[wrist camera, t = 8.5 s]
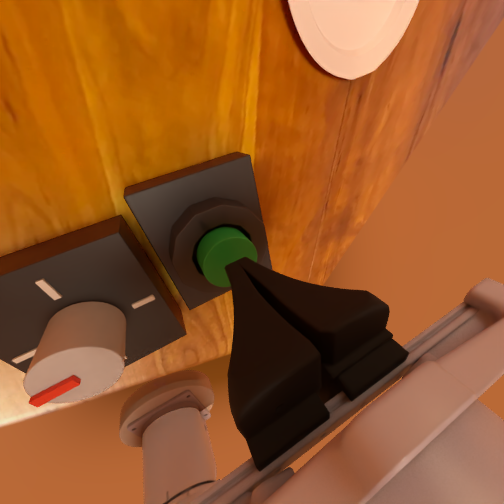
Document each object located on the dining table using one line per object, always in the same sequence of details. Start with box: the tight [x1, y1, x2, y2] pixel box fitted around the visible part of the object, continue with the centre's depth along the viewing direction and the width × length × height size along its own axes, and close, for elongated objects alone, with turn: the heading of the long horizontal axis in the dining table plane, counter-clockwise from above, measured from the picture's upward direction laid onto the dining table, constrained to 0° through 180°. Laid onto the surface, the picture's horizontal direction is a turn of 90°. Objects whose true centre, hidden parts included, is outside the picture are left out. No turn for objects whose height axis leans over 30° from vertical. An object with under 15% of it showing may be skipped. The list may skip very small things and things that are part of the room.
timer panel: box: [0, 215, 187, 373], centre depth 15 cm, size 10×9×3 cm
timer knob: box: [23, 301, 126, 407], centre depth 12 cm, size 4×4×4 cm
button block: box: [124, 152, 272, 310], centre depth 16 cm, size 10×8×4 cm
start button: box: [197, 227, 257, 287], centre depth 14 cm, size 4×4×2 cm
